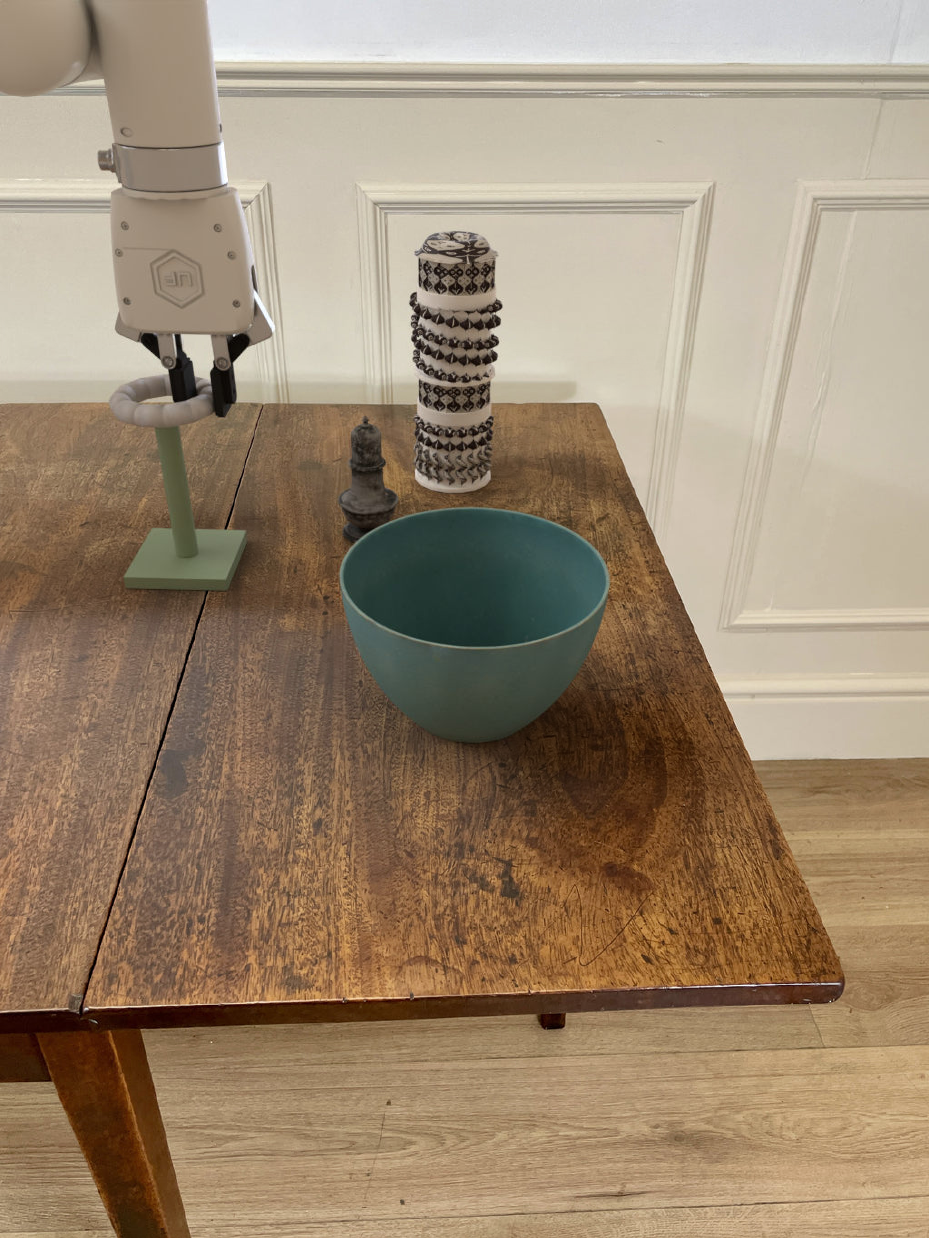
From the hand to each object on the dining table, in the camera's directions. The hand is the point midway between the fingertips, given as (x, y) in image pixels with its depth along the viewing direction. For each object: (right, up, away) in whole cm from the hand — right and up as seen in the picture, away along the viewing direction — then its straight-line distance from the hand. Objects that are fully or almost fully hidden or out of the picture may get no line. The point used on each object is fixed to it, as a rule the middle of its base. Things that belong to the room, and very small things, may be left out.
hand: (206, 409), depth 78 cm
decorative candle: (+20, -2, +25) cm, 32 cm away
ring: (-3, +1, 0) cm, 3 cm away
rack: (-4, -12, +8) cm, 15 cm away
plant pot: (+22, -24, -8) cm, 34 cm away
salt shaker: (+12, -9, +14) cm, 21 cm away
